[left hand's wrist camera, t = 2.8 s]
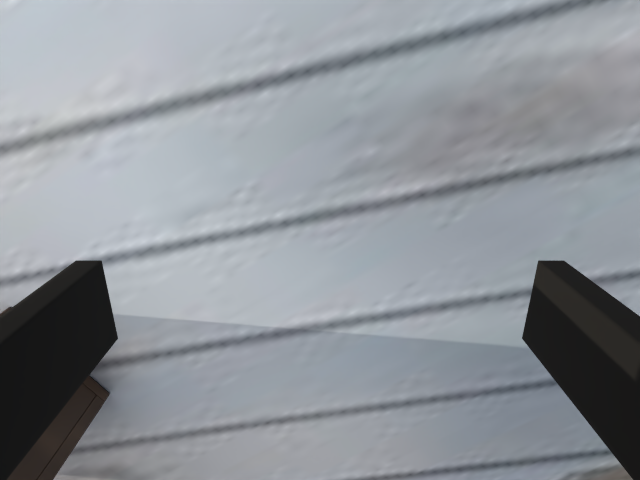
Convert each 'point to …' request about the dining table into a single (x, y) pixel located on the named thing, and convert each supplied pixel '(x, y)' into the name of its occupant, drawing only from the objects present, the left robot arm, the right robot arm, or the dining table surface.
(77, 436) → the chest
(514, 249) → the dining table surface
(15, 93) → the dining table surface
